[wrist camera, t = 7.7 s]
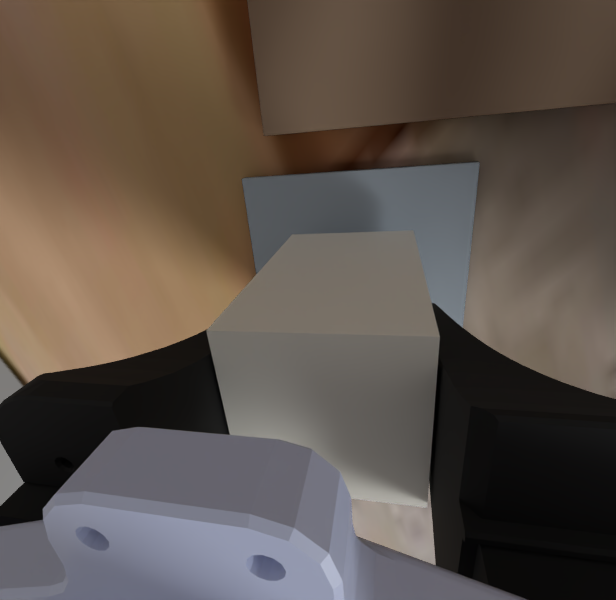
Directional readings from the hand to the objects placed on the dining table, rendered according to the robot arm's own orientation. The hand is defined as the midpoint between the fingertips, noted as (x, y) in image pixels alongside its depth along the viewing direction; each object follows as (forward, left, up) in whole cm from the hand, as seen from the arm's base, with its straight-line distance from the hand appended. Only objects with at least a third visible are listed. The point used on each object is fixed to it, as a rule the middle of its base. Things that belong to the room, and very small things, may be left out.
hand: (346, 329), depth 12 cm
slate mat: (0, 0, -5) cm, 5 cm away
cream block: (0, 0, -3) cm, 3 cm away
